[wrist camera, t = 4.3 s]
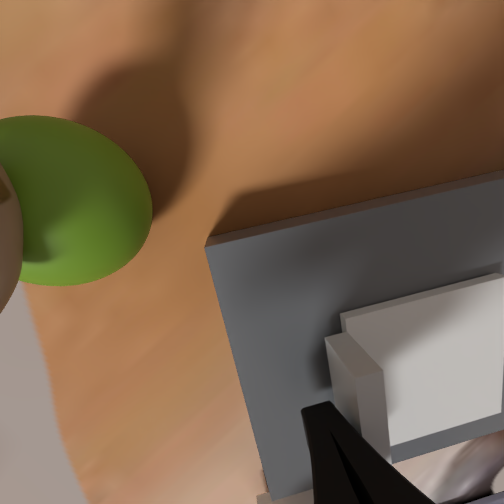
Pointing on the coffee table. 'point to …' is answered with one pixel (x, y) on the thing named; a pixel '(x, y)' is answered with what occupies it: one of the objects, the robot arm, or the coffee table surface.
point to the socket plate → (342, 301)
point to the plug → (288, 498)
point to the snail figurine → (66, 204)
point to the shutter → (420, 362)
